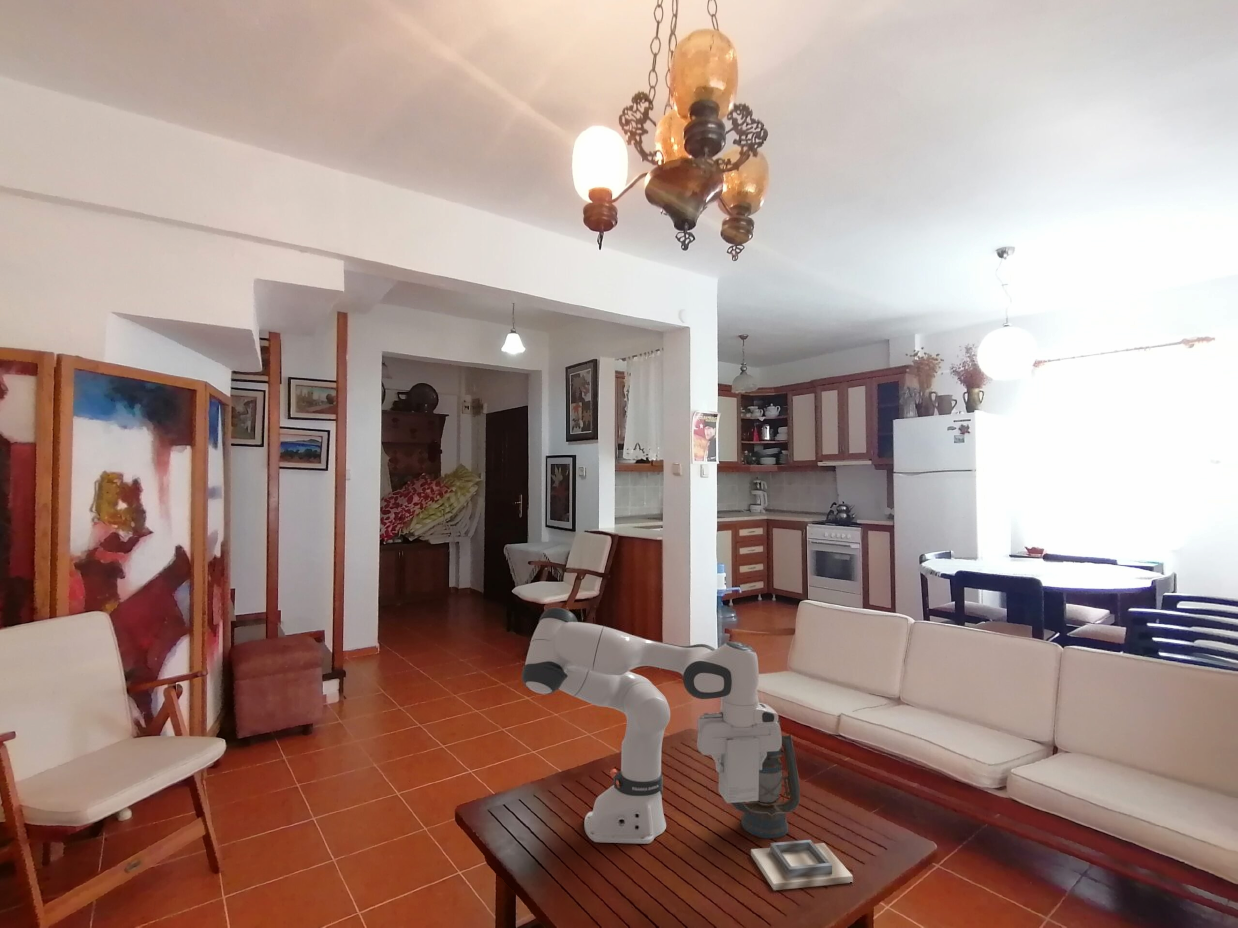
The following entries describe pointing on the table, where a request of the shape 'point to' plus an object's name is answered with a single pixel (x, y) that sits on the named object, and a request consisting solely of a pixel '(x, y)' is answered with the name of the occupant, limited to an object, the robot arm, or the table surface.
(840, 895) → the table surface
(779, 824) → the lantern
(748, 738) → the skincare box
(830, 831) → the table surface
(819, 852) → the board
